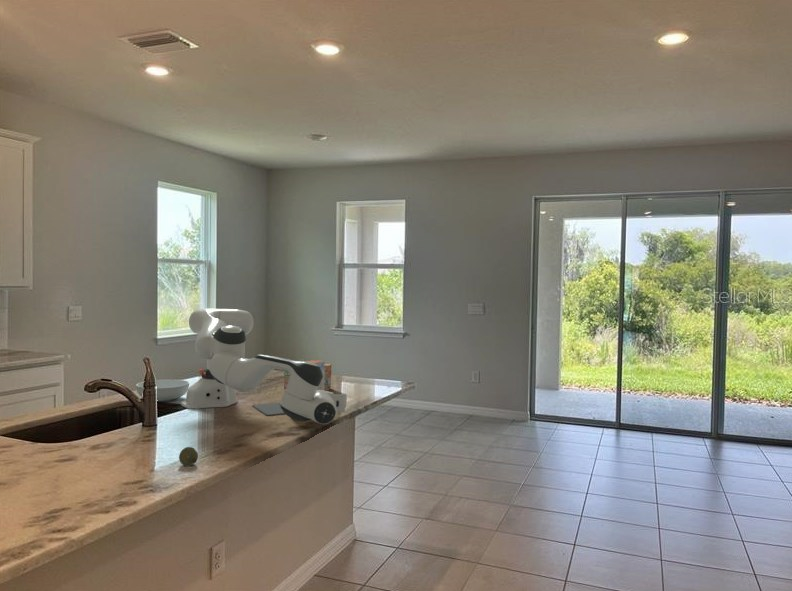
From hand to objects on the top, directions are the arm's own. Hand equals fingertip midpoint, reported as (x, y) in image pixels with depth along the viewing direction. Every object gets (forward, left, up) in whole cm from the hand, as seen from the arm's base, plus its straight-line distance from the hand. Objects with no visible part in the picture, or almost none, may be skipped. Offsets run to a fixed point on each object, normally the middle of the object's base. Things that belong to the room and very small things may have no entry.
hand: (316, 395), depth 214 cm
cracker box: (+2, +12, -11) cm, 16 cm away
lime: (-50, -27, -11) cm, 58 cm away
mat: (-2, +27, -10) cm, 29 cm away
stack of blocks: (+22, +62, -11) cm, 67 cm away
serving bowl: (-42, +63, -11) cm, 77 cm away
